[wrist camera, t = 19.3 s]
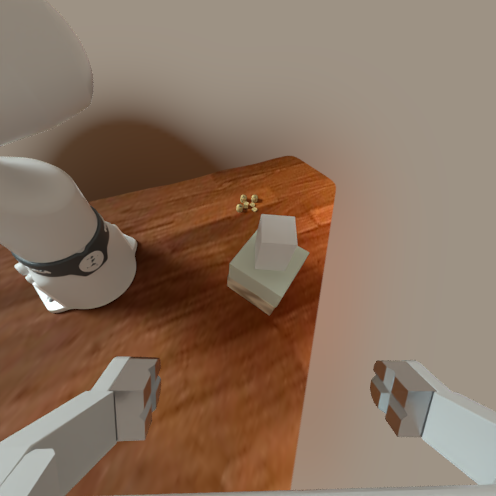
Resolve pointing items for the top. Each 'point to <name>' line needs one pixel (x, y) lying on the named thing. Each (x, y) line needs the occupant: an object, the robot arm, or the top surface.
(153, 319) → the top surface
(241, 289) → the birch block
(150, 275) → the top surface
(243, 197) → the beige lumpy cluster
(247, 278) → the sage block
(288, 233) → the grey block
